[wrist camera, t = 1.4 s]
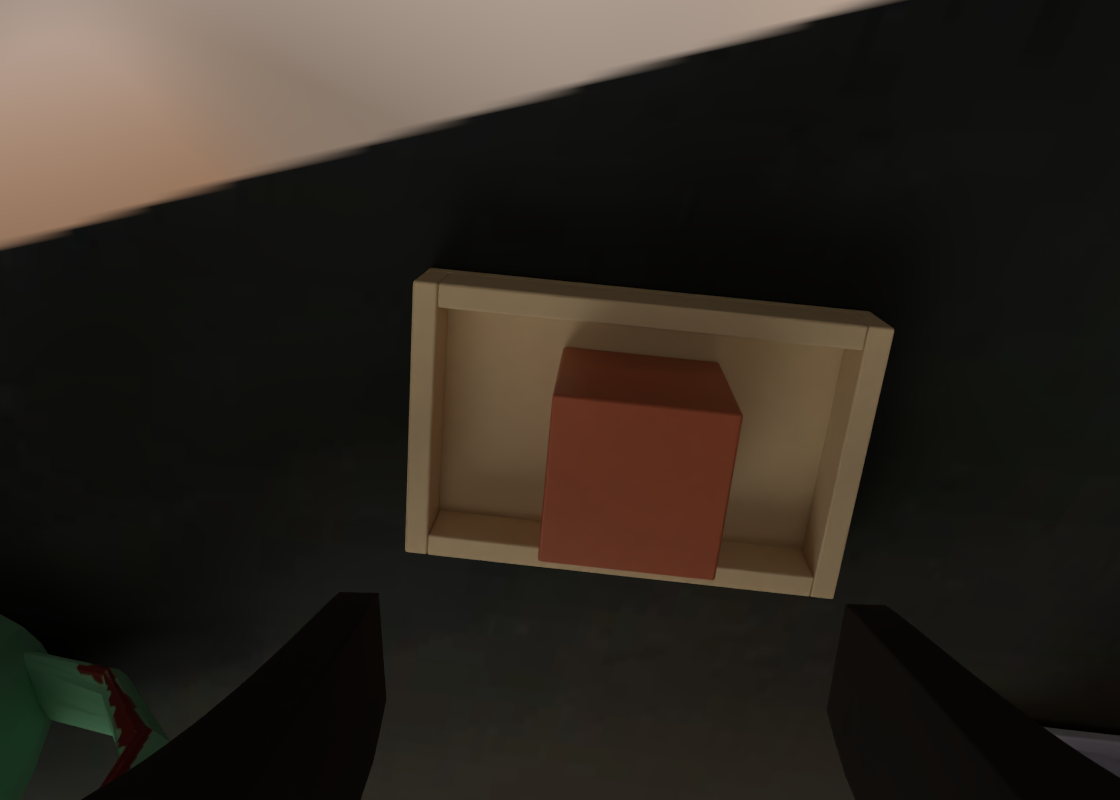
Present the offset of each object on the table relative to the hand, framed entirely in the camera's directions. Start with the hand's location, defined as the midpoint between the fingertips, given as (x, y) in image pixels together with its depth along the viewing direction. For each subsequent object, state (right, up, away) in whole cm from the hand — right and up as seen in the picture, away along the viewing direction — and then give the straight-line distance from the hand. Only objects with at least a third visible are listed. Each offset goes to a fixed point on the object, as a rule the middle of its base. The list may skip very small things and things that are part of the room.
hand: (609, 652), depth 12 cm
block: (+1, +3, +9) cm, 9 cm away
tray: (+1, +3, +9) cm, 10 cm away
